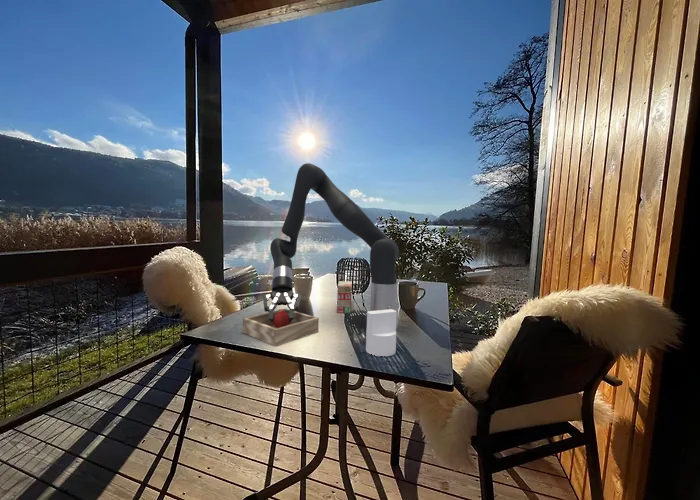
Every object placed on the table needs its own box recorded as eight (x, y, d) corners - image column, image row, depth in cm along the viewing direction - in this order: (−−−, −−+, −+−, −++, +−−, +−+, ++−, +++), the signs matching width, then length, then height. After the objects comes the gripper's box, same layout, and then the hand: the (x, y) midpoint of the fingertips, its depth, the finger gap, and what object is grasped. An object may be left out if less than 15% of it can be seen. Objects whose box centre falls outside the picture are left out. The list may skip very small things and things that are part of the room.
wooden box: (318, 331, 107) (318, 317, 107) (275, 346, 93) (276, 330, 93) (285, 321, 119) (285, 308, 118) (242, 332, 104) (242, 318, 104)
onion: (284, 327, 110) (284, 305, 110) (293, 331, 106) (293, 309, 105) (269, 330, 106) (270, 308, 105) (278, 335, 102) (278, 311, 101)
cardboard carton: (338, 302, 154) (339, 278, 153) (351, 302, 154) (351, 278, 153) (336, 313, 132) (337, 285, 132) (351, 313, 132) (351, 285, 132)
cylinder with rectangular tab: (374, 358, 86) (375, 316, 85) (360, 347, 94) (361, 309, 93) (401, 354, 89) (402, 314, 89) (386, 343, 98) (387, 306, 97)
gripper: (262, 275, 111) (258, 316, 100) (301, 274, 113) (302, 314, 103) (263, 286, 116) (260, 326, 105) (301, 286, 119) (302, 325, 108)
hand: (281, 320), depth 104 cm, fingers closed on onion, 5 cm apart
